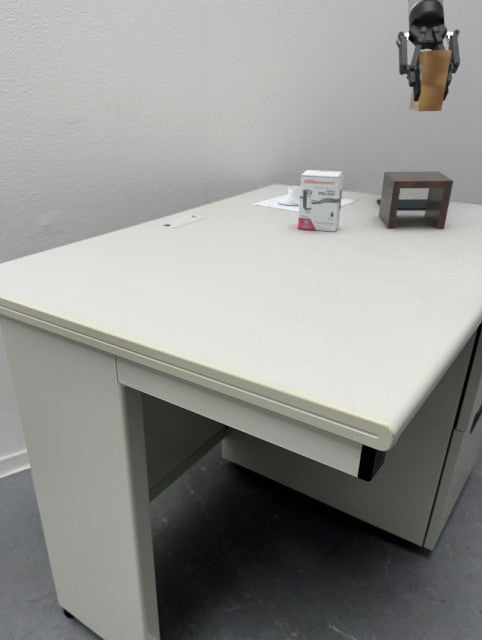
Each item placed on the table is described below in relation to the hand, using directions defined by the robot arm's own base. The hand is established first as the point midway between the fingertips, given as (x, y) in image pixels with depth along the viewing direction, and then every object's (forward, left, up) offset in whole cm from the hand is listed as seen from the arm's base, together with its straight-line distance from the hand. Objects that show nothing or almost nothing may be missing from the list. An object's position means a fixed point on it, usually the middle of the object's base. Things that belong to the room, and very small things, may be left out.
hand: (431, 96), depth 120 cm
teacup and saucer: (+26, -12, -25) cm, 38 cm away
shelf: (+3, +9, -25) cm, 27 cm away
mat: (0, -8, -25) cm, 26 cm away
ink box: (+24, +15, -25) cm, 38 cm away
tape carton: (0, -4, -3) cm, 5 cm away
